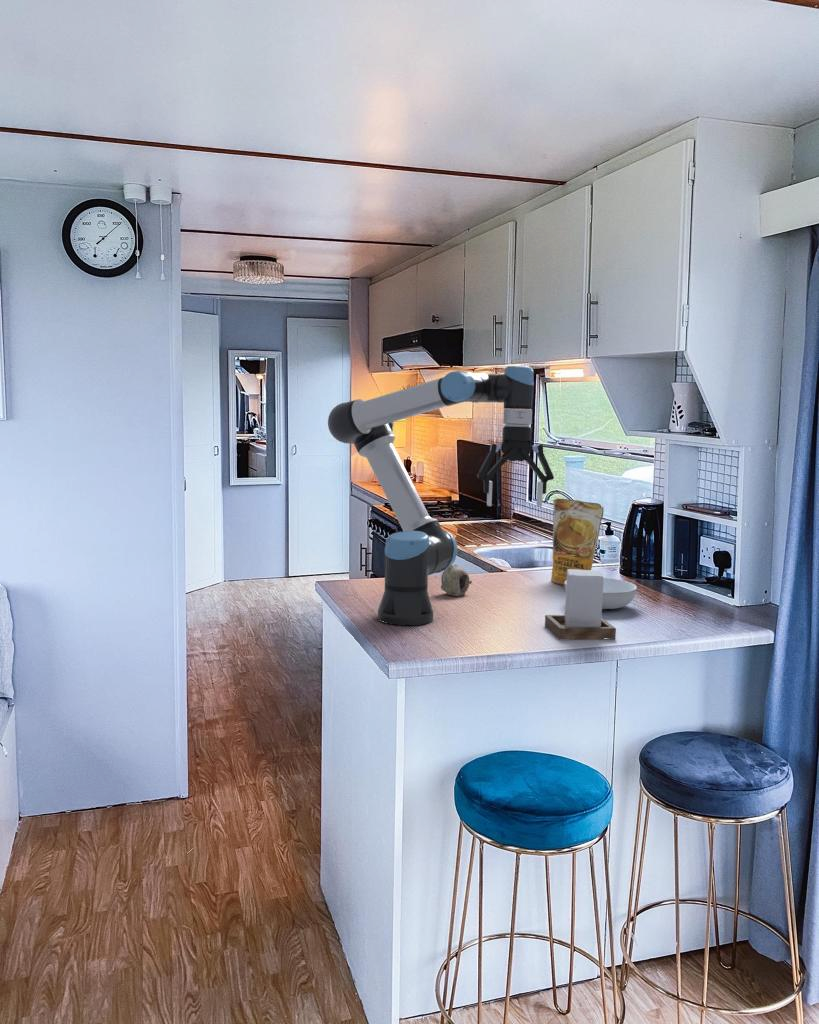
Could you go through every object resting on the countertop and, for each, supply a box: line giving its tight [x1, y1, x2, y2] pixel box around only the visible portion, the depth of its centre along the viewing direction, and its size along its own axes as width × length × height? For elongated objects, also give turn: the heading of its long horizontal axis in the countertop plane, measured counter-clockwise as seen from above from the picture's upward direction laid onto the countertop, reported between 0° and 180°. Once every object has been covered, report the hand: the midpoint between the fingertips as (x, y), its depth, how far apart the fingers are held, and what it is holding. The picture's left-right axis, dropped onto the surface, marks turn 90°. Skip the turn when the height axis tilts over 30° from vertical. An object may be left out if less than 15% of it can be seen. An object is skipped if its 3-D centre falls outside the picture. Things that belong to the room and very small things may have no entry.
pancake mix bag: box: [550, 498, 604, 586], centre depth 284 cm, size 7×19×28 cm, turn 39°
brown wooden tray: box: [544, 614, 617, 640], centre depth 225 cm, size 14×14×3 cm
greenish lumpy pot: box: [440, 564, 473, 597], centre depth 267 cm, size 9×8×10 cm
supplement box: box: [564, 569, 604, 627], centre depth 224 cm, size 9×9×15 cm
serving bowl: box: [564, 577, 638, 610], centre depth 254 cm, size 21×21×7 cm
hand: (514, 506), depth 230 cm, fingers open, 13 cm apart
